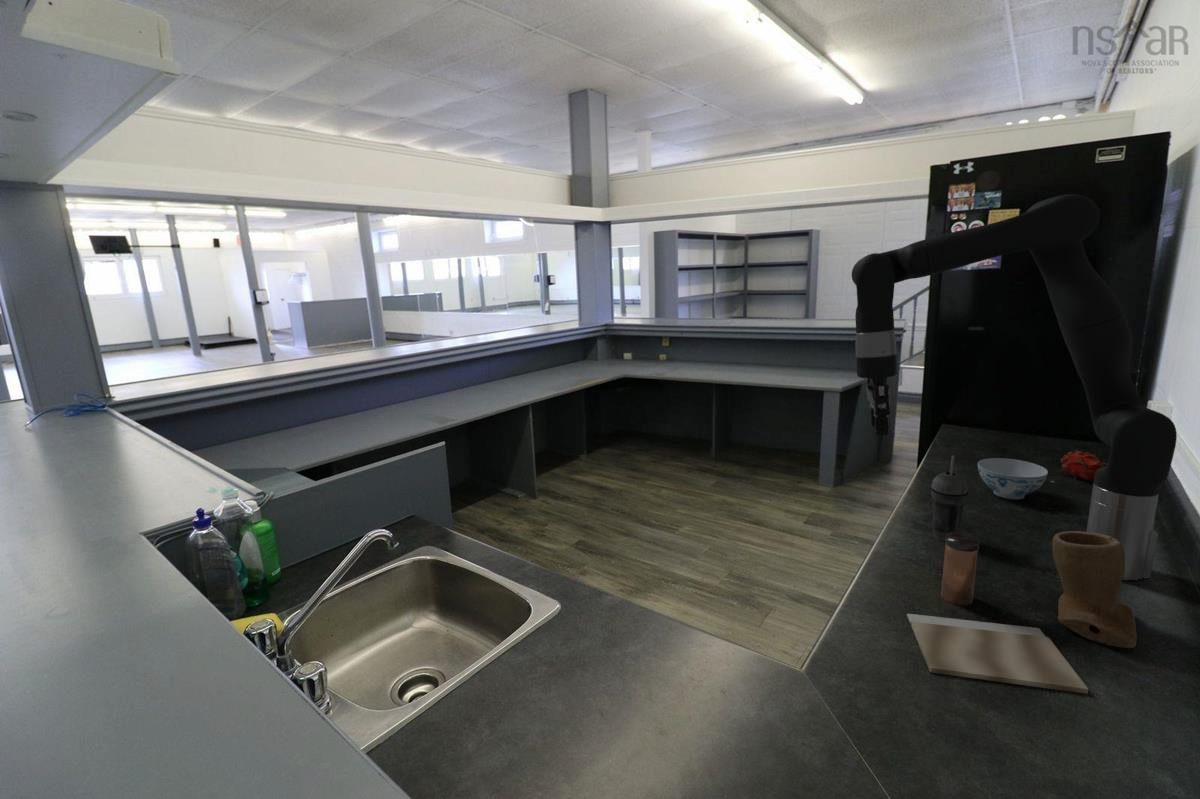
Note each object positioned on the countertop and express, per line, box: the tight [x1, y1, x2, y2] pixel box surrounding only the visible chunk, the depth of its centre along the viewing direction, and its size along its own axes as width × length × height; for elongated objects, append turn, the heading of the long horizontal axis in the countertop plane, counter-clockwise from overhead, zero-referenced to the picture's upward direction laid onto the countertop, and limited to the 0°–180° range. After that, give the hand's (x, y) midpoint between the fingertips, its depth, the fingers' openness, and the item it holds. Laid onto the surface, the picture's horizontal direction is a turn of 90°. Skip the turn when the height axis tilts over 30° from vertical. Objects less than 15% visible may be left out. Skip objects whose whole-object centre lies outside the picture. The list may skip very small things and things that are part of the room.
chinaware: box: [977, 457, 1049, 500], centre depth 148 cm, size 15×15×8 cm
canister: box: [940, 531, 980, 606], centre depth 103 cm, size 5×5×12 cm
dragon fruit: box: [1060, 450, 1108, 483], centre depth 156 cm, size 8×8×12 cm
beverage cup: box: [930, 455, 969, 542], centre depth 125 cm, size 7×7×20 cm
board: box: [910, 622, 1089, 695], centre depth 88 cm, size 20×12×1 cm, turn 74°
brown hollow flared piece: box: [1052, 530, 1137, 649], centre depth 94 cm, size 15×12×15 cm
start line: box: [906, 613, 1046, 637], centre depth 95 cm, size 20×2×1 cm, turn 74°
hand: (879, 430), depth 116 cm, fingers open, 8 cm apart
